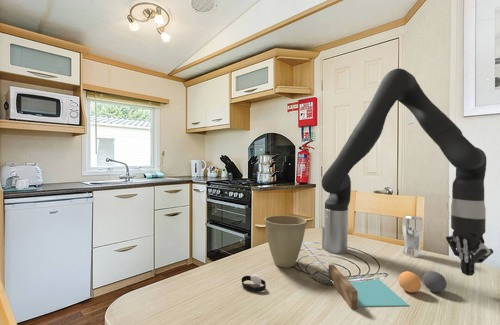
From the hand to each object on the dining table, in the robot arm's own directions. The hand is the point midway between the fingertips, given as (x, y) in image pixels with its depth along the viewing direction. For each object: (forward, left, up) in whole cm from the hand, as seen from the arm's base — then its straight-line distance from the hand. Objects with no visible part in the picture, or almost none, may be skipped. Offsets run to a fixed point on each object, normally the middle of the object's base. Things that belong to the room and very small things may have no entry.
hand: (467, 274), depth 72 cm
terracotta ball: (-11, -14, -2) cm, 17 cm away
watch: (-40, -48, -5) cm, 62 cm away
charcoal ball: (-6, -8, -2) cm, 10 cm away
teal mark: (-18, -23, -5) cm, 30 cm away
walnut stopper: (-23, -30, -5) cm, 38 cm away
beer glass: (-20, +19, -5) cm, 28 cm away
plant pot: (-46, -28, -5) cm, 54 cm away
